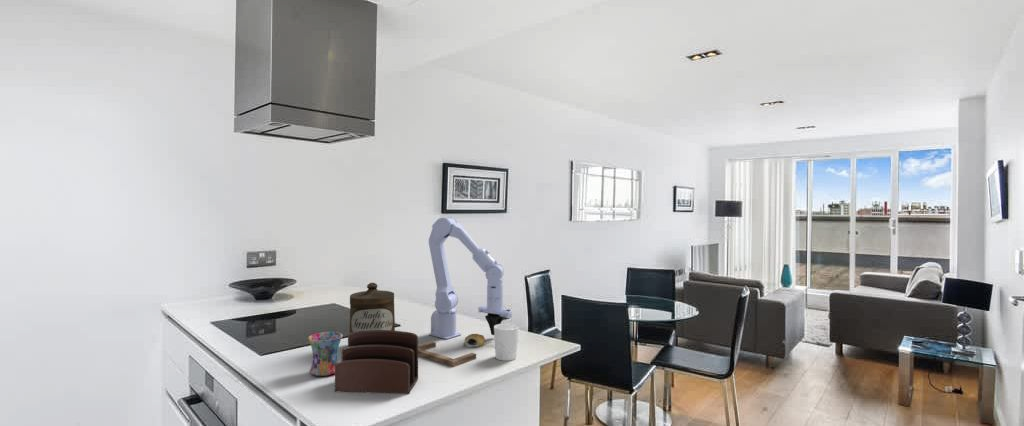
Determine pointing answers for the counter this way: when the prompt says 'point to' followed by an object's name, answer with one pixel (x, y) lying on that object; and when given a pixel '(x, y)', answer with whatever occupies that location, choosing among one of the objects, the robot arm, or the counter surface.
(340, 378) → the letter holder
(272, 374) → the counter surface
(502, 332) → the white cup
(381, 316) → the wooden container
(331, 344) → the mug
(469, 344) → the pastry
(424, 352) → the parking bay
